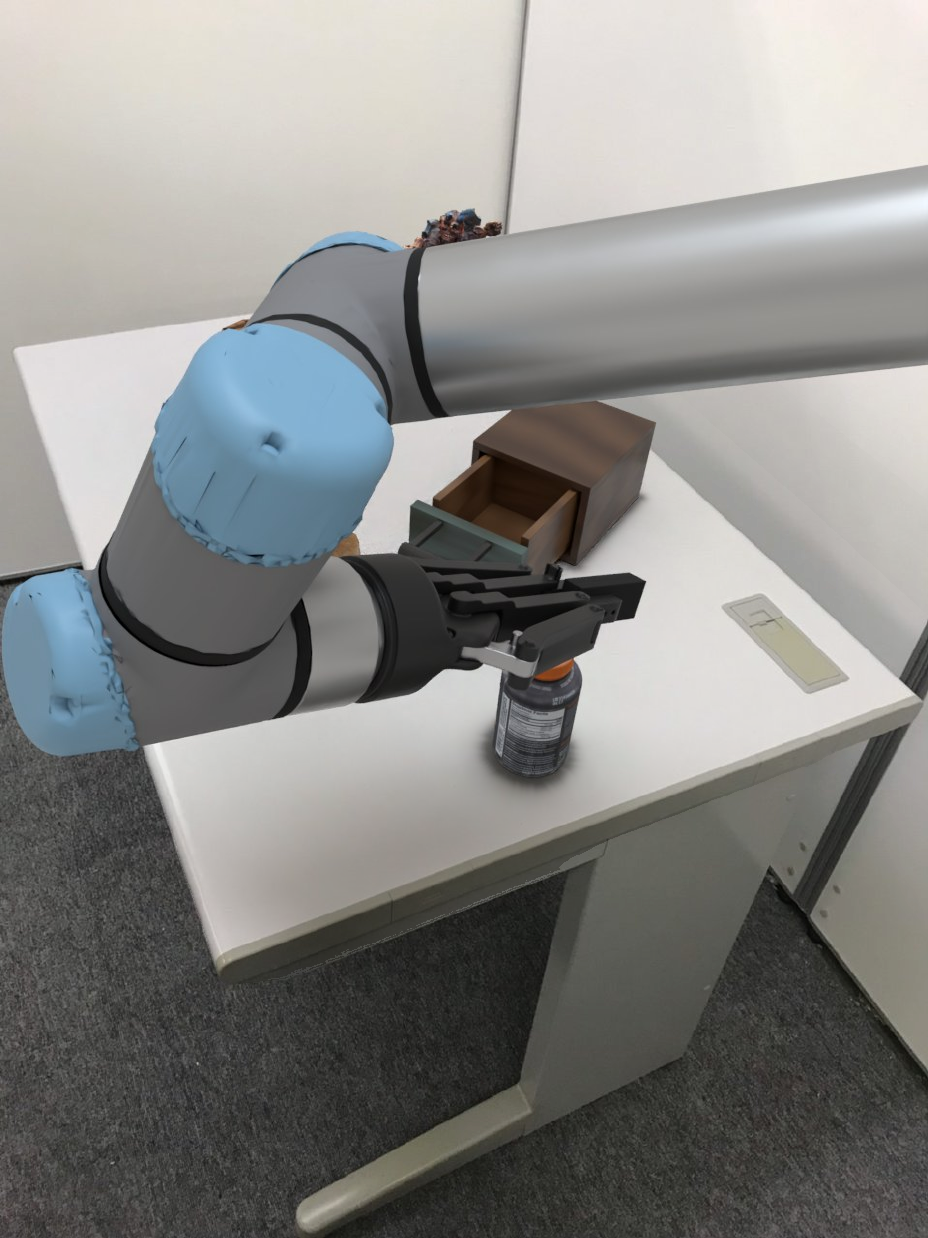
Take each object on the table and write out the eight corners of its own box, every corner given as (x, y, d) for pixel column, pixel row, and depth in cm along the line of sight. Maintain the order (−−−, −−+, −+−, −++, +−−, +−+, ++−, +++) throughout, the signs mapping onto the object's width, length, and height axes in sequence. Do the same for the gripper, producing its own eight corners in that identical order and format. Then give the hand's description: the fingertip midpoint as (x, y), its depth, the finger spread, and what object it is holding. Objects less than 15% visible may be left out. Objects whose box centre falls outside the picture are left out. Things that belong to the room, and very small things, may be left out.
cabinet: (575, 566, 93) (590, 488, 87) (465, 517, 98) (472, 440, 92) (638, 497, 103) (656, 422, 97) (536, 455, 107) (546, 381, 101)
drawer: (478, 655, 82) (486, 588, 77) (370, 602, 86) (371, 534, 81) (582, 545, 95) (594, 480, 89) (483, 502, 99) (489, 438, 94)
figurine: (462, 380, 119) (474, 233, 107) (396, 361, 121) (401, 215, 109) (496, 346, 126) (511, 204, 114) (434, 328, 129) (442, 188, 117)
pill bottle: (527, 709, 79) (545, 606, 71) (582, 752, 76) (607, 649, 69) (475, 746, 76) (488, 642, 68) (531, 792, 73) (551, 689, 65)
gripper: (264, 640, 54) (548, 605, 70) (404, 762, 46) (691, 691, 62) (286, 513, 51) (577, 507, 67) (440, 619, 43) (730, 583, 59)
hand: (631, 595), depth 64 cm, fingers closed
